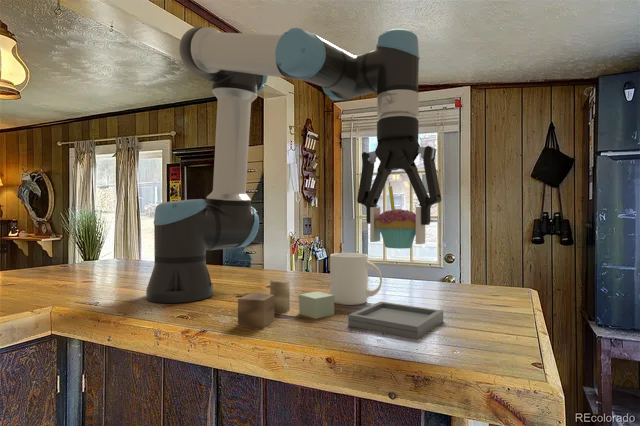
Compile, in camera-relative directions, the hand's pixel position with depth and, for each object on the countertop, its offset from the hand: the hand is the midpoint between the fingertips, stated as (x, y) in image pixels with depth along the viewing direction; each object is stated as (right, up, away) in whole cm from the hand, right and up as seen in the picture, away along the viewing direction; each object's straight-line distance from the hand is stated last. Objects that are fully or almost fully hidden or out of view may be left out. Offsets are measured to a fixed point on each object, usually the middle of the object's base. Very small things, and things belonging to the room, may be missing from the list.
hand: (397, 242), depth 73 cm
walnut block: (-26, -15, 0) cm, 30 cm away
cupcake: (0, -1, 0) cm, 1 cm away
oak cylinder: (-23, -15, +10) cm, 29 cm away
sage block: (-15, -15, +7) cm, 22 cm away
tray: (0, -15, 0) cm, 15 cm away
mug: (-6, -15, +18) cm, 24 cm away
